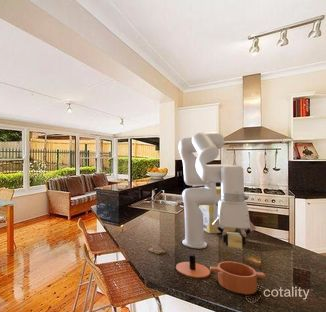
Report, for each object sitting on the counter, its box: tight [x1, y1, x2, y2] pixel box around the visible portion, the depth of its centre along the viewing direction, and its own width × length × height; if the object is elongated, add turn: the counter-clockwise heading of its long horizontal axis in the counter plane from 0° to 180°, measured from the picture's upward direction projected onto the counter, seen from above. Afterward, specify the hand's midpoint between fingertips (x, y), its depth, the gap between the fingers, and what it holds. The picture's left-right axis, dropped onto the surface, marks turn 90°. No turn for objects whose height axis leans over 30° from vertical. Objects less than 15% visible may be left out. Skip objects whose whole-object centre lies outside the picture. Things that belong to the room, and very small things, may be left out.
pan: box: [209, 260, 267, 295], centre depth 88 cm, size 12×18×6 cm
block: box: [227, 232, 243, 250], centre depth 89 cm, size 4×4×4 cm
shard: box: [148, 243, 166, 255], centre depth 122 cm, size 11×8×2 cm
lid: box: [175, 253, 211, 279], centre depth 100 cm, size 13×13×7 cm
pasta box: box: [198, 186, 236, 234], centre depth 154 cm, size 18×10×28 cm, turn 98°
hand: (233, 244), depth 89 cm, fingers closed on block, 4 cm apart
